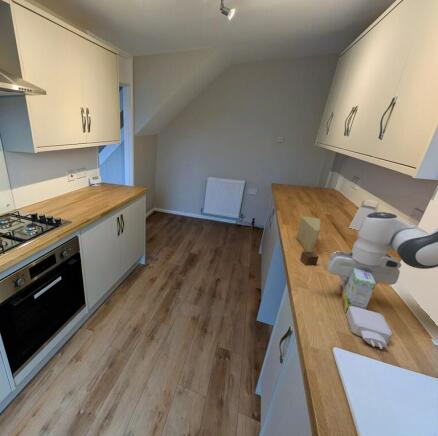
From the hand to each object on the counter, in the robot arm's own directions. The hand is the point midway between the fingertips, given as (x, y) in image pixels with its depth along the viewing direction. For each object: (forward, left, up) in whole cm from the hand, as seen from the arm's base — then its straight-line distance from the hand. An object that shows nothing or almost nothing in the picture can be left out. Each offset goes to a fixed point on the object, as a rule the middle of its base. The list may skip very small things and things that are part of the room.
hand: (354, 287), depth 91 cm
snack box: (0, 0, -6) cm, 6 cm away
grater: (-35, -91, -6) cm, 98 cm away
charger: (+1, +19, -6) cm, 20 cm away
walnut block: (+9, -26, -6) cm, 28 cm away
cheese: (+5, -46, -6) cm, 47 cm away
